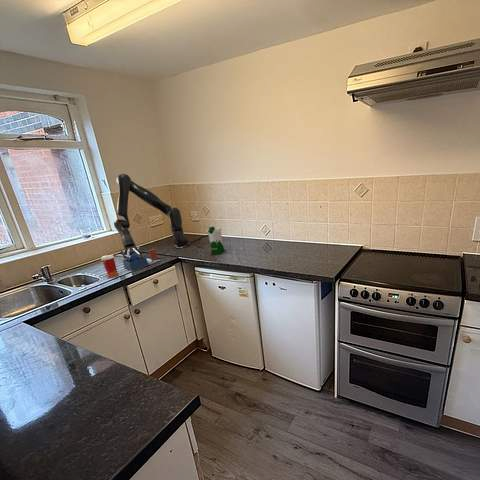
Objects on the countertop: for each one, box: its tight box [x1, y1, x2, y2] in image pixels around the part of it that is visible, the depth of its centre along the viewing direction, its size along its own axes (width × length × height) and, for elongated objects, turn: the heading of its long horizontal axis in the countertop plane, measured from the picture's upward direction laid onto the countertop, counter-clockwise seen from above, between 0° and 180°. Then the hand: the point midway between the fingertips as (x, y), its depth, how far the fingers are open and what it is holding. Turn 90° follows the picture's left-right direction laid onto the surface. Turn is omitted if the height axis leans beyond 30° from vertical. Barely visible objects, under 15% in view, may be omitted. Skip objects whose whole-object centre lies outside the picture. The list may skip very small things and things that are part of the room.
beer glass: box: [100, 254, 119, 278], centre depth 197 cm, size 8×8×14 cm
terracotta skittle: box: [149, 248, 158, 261], centre depth 224 cm, size 4×4×8 cm
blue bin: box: [122, 255, 149, 271], centre depth 213 cm, size 12×12×6 cm
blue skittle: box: [129, 254, 138, 262], centre depth 213 cm, size 4×4×8 cm
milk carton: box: [206, 226, 226, 255], centre depth 220 cm, size 9×9×20 cm
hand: (135, 260), depth 211 cm, fingers open, 6 cm apart
